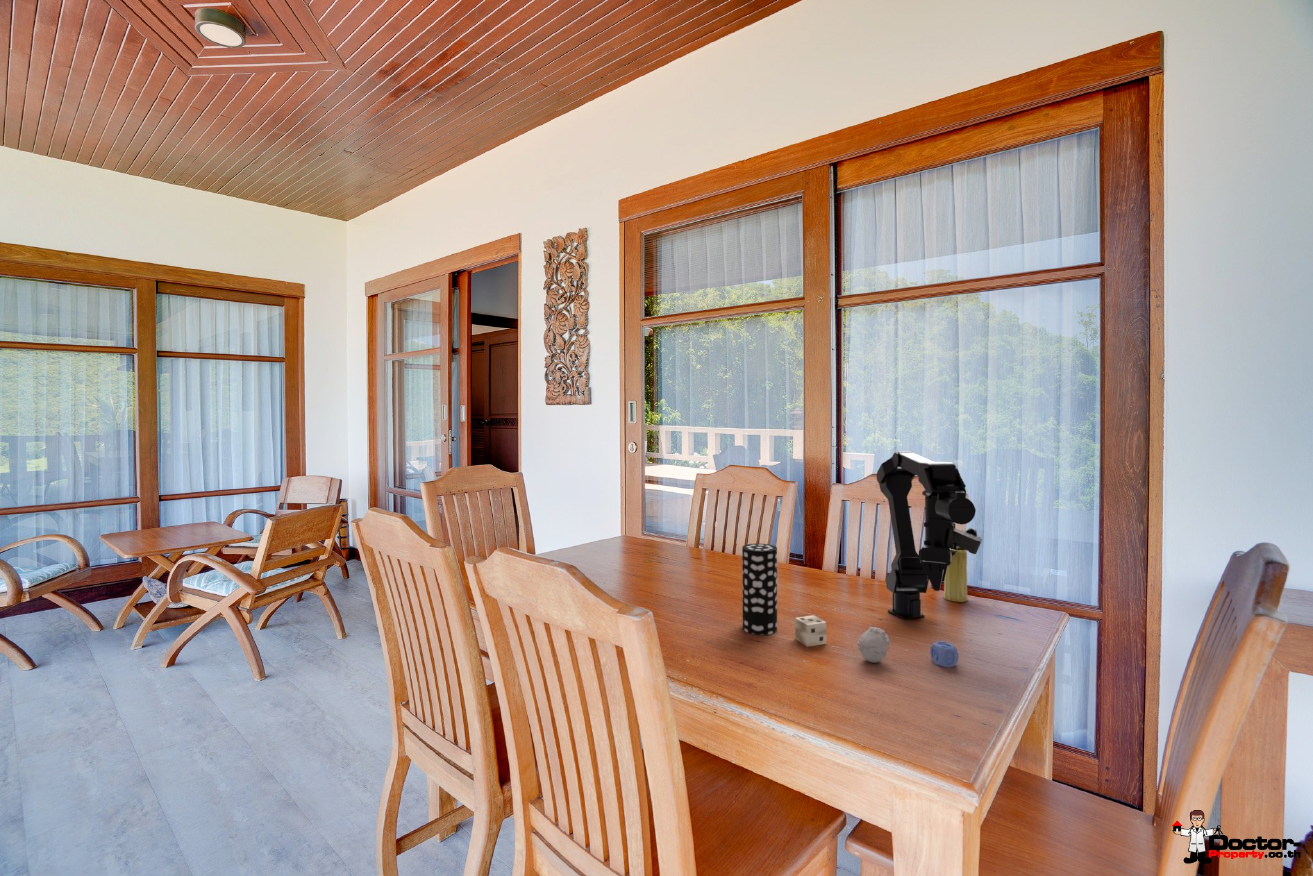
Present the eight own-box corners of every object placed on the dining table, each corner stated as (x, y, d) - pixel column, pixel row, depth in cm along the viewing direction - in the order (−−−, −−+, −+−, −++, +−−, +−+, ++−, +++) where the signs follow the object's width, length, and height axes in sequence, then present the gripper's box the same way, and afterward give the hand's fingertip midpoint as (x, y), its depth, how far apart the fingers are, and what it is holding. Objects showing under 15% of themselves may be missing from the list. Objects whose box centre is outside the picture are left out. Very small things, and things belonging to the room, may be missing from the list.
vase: (965, 596, 165) (966, 546, 165) (969, 603, 159) (970, 551, 159) (942, 594, 167) (942, 545, 167) (945, 601, 161) (945, 550, 161)
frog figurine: (896, 662, 123) (896, 629, 123) (876, 670, 119) (876, 637, 119) (870, 652, 128) (871, 621, 128) (851, 660, 124) (851, 628, 123)
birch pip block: (795, 639, 136) (795, 617, 136) (813, 636, 138) (813, 614, 137) (807, 647, 131) (807, 624, 131) (826, 644, 133) (826, 622, 133)
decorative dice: (948, 659, 124) (948, 640, 124) (958, 667, 120) (959, 648, 120) (929, 659, 124) (930, 641, 124) (939, 668, 120) (939, 648, 120)
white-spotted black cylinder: (756, 637, 137) (756, 553, 136) (735, 626, 144) (735, 546, 143) (784, 631, 141) (784, 548, 140) (762, 620, 148) (762, 542, 147)
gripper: (976, 526, 121) (977, 601, 121) (981, 514, 136) (982, 581, 137) (918, 522, 126) (918, 594, 127) (929, 511, 142) (929, 575, 142)
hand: (939, 586), depth 133 cm, fingers open, 9 cm apart
